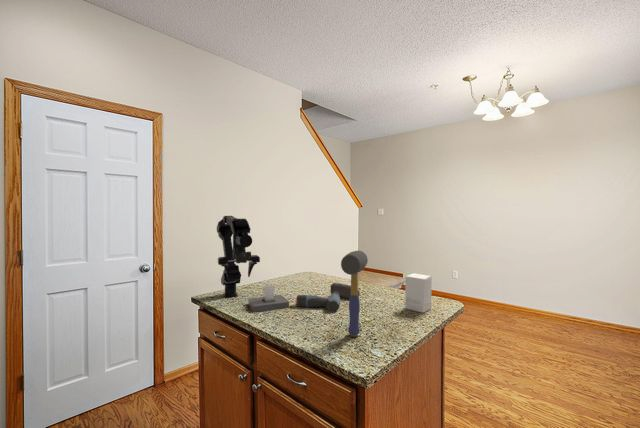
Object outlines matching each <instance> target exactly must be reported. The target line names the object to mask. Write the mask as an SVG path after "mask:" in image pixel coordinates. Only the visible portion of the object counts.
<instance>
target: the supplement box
mask: <svg viewBox="0 0 640 428" xmlns="http://www.w3.org/2000/svg"><path fill="white" fill-rule="evenodd" d="M404 277H405V278H404V280H405V284H404V285H405V286H404V288H405V291H404V292H405V297H404V299H405V301H404V306H405V307H404V308H405V309H407V310H411V311H415V312H418V313H425V312H427V311H430V310H431V309H432V275H427V274H419V273H410V274H408V275H407V274H406V276H404Z"/></svg>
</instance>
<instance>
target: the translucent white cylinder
mask: <svg viewBox="0 0 640 428" xmlns="http://www.w3.org/2000/svg"><path fill="white" fill-rule="evenodd" d="M274 296H275V286H273V284H269V285H267V284H266V285H263V286H262V297H263V302H264V303H266V302H274Z"/></svg>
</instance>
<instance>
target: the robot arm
mask: <svg viewBox="0 0 640 428" xmlns="http://www.w3.org/2000/svg"><path fill="white" fill-rule="evenodd" d="M216 233H217V234H218V238H219V239H220V240H221V241H222V248H223V256H218V258H217V264H218V265H219V266H221V267H224V269H223V271H222V275H221V278H220V284H221V285H222V286H224V293H223V297H224V298H233V297H239V295H238V293H237V284H241V278H242V274H241V271H240V266H239V265H238V264H245V263H247V262H248V270H247V275H248V276H247V277H248V278H250V276H251V274H252V271H253V269H254V266H255V265H257V264H258V263H260V262H261V257H260V256H259V255H257V254H252V252H251V251H246V248H249V247H250V246H251V245H252V244H253V239H252V236H251V235H249V234H250V233H251V227H250V224H249V221H248V220H247V219H246V218H237V217H235V216H233V215H224V216H223V217H222V219H221V220H219V221H218V222H217V225H216Z"/></svg>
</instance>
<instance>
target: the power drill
mask: <svg viewBox="0 0 640 428" xmlns="http://www.w3.org/2000/svg"><path fill="white" fill-rule="evenodd" d="M295 299H296V301H295V304H296V306H297V307H302V308H303V307H304V308H321V307H323V306H324V307H327V310H329V312H332V313H333V312H334V313H335V312H338V310H339V309H340V305H341V298H340V294H339V293H338V292H337V291H334V292H333V293H332V294H331V293H330V295H328V296H327V297H323V296H318V295H314V294H313V295H311V294H309V295H308V294H298V295H296V298H295Z"/></svg>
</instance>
